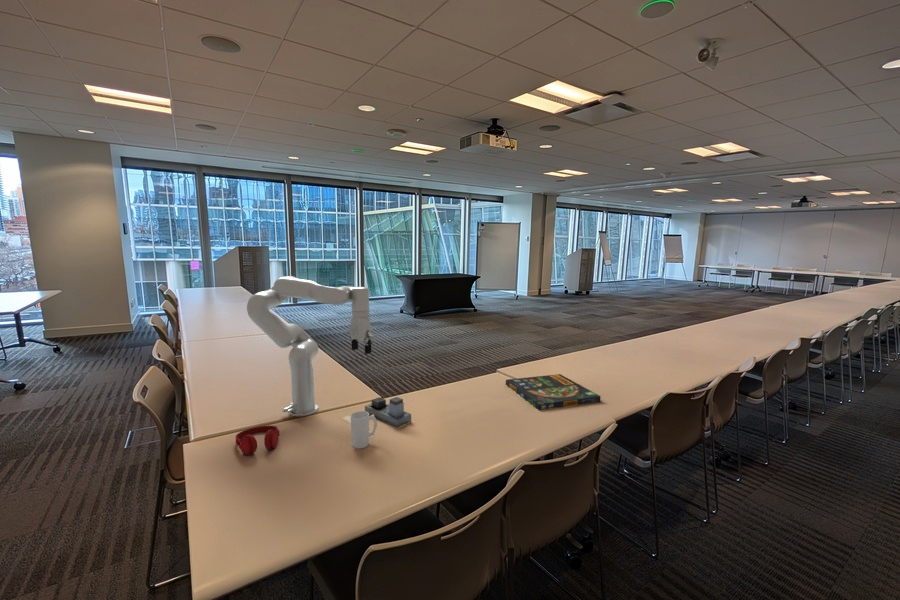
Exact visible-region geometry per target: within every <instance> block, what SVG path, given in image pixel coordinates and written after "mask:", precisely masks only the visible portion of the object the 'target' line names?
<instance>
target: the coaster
mask: <svg viewBox="0 0 900 600" xmlns="http://www.w3.org/2000/svg"><path fill="white" fill-rule="evenodd" d="M340 420H342V421H345V422H347V423H348V424H350V425H351V414H348V415H346V416H343V417H341V418H340Z"/></svg>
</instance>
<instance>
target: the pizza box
mask: <svg viewBox="0 0 900 600" xmlns="http://www.w3.org/2000/svg"><path fill="white" fill-rule="evenodd" d="M506 385H507V388H509V389H510V388H511V389H510V390H511V391H513V392H514V391H515V392H516V394H517V395H518V394H519V395H520V396H519V395H518V396H519V397H521V398H522V399H523V398H524V399H523V400H525V401H526V402H527V401H528V402H529V403H528V402H527V403H528V404H530V405H531V406H532V405H533V406H532V407H533V408H534V409H536V410H537V409H538V411H543V410H549V409H550V408H551V409H555V408H556V409H557V408H558V409H559V408H565V406H566V407H571V406H572V407H573V406H580V405H587V404H588V405H589V404H594V403H600V402H601V395H599V394H598V393H596V392H594V391H592V390H590V389H588V388H586V387H584V386H583V385H581V384H579V383H577V382H576V381H574V380H572V379H570V378H568V377H566V376H564V375H562V374H561V373H560V374H559V373H558V374H549V375H537V376H530V377H520V378H509V379H505V386H506ZM515 392H514V393H515ZM551 409H550V410H551Z"/></svg>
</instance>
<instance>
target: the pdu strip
mask: <svg viewBox="0 0 900 600" xmlns="http://www.w3.org/2000/svg"><path fill="white" fill-rule="evenodd" d="M364 411H365V412H368V413H369V416H371V415H373V414H374V416H375V418H376V419H378V420H381V421H383V422H385V423H387V424H390V425H392V426H394V427H396V428H397V429H399V428H401V427H402V426H405V425H407V424H409V423H411V422H412V413H410V412H407V411H405V410H404V415H402V416H399V417H397V418H395V417H393V416H390V415H389V403H388V404H387V400H386V399H385V398H382V397H376V398H374V399H371V403H370V404H366V405H364Z"/></svg>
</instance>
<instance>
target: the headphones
mask: <svg viewBox="0 0 900 600" xmlns="http://www.w3.org/2000/svg"><path fill="white" fill-rule="evenodd" d="M260 433H265V435H264V441H263V442H264V447H265V448H264V449H266V450H268V451H269V450H273V449H274V448H275V449H276V447H277V446H278V442H279V436H280V435H281V434H280V430H279V428H278V426H275V425H260V426H255V427H251V428H247V429H245V430H242V431H240V432H238V433H237V434H236V435H235V445H236V447H238V448H239V450H240V451H241V453H242V454H243V456H244V455H245V456H248V455H249V456H250V455H253V454H254V453H256V451H257V448H258V442H257V439H256V438H255V434H260Z"/></svg>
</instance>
